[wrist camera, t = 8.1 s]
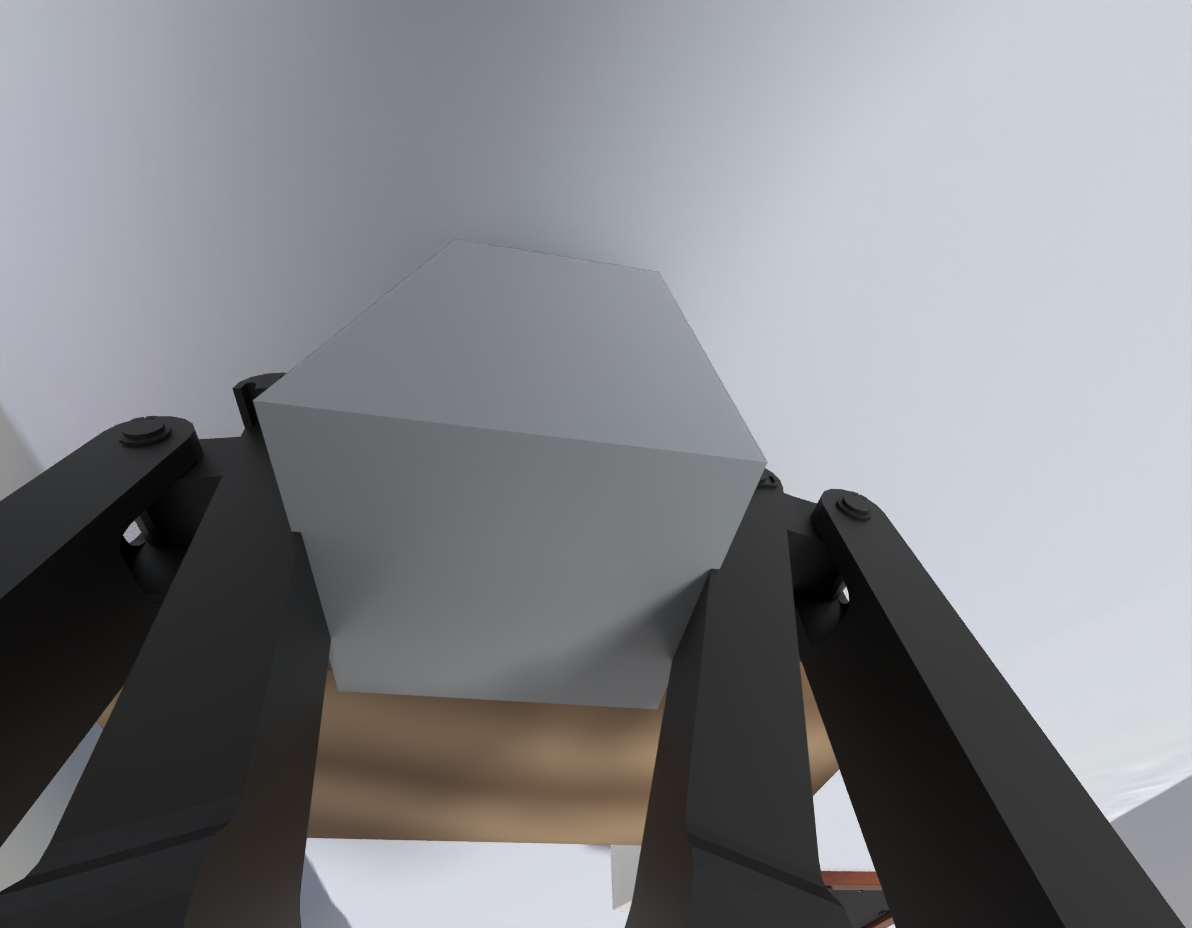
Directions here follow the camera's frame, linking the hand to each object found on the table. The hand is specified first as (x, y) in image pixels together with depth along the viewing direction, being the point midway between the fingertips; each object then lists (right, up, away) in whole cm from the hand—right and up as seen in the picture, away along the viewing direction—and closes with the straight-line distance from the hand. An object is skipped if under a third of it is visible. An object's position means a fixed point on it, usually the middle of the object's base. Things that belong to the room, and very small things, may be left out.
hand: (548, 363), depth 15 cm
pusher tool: (-1, -4, +3) cm, 5 cm away
